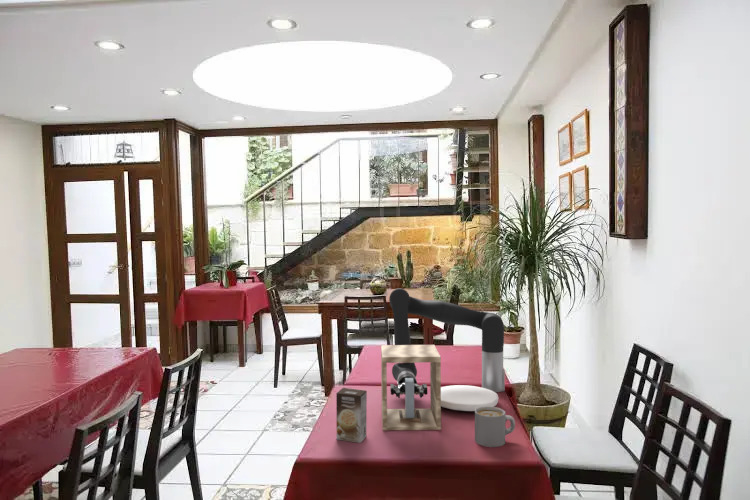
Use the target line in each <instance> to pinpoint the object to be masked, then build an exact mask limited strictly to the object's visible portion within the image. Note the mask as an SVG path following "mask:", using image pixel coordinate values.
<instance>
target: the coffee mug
mask: <svg viewBox="0 0 750 500" xmlns="http://www.w3.org/2000/svg"><path fill="white" fill-rule="evenodd" d="M507 421H509V422H510V426H509V428H507V427H506V423H507ZM515 428H516V421H515V419H514V417H513V416H511V415H507V414H506V411H505V410H504V409H503V408H500V407H496V406H494V407H479V408H477V409H475V411H474V442H475V443H476V444H478V445H479V446H482V447H485V448H486V447H488V448H498V447H499V448H500V447H502V446H504V445H505V444H506V436H507V435H510V434H511V433H513V432H514V431H515Z"/></svg>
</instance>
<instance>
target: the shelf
mask: <svg viewBox="0 0 750 500" xmlns="http://www.w3.org/2000/svg"><path fill="white" fill-rule="evenodd" d="M380 347H381V348H380V350H381V351H380V355H381V356H380V359H381V360H380V361H381V364H380V365H381V367H380V368H381V371H380V373H381V374H380V375H381V377H380V378H381V381H380V382H381V424H382V431H425V430H426V431H436V430H438V431H440V430H442V417H441V416H442V408H441V407H442V406H441V387H442V384H441V383H442V382H441V381H442V379H441V378H442V375H441V374H442V371H441V370H442V369H441V367H442V366H441V365H442V362H441V361H442V360H441V359H442V358H441V357H442V356H441V355H440V353H439V351H438V350H437V347H436V346H435V344H411V345H395V344H392V345H391V344H383V345H382V344H381V345H380ZM391 363H392V364H393V363H394V364H396V363H429V365H430V366H429V367H430V369H429V370H430V374H429V377H430V378H429V379H430V381H429V382H430V383H429V384H430V385H429V386H430V387H429V388H430V389H429V390H430V395H429V397H430V408H414V418H406V416H405V408H388V398H387V397H388V391H387V390H388V389H387V388H388V386H387V385H388V384H387V383H388V381H387V380H388V379H387V371H388V368H387V365H388V364H391Z"/></svg>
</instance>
